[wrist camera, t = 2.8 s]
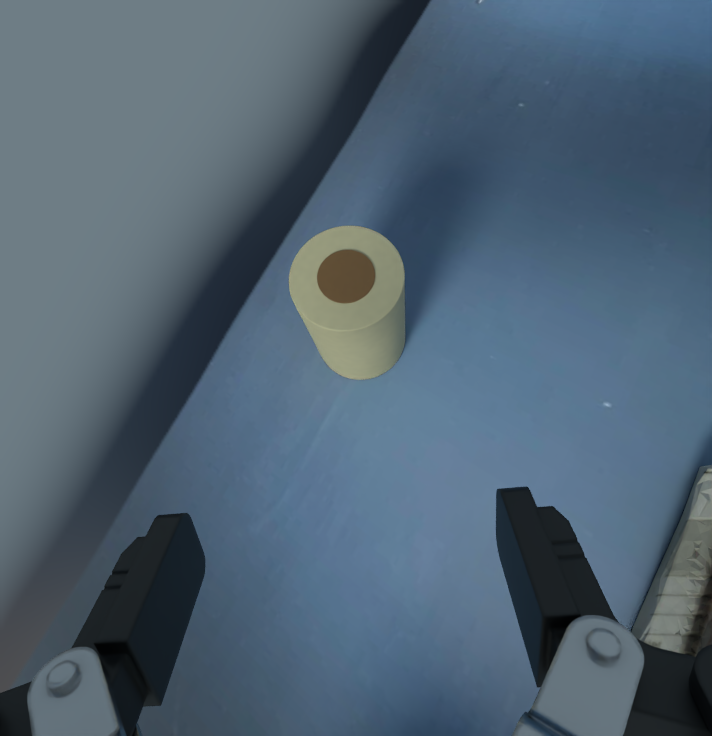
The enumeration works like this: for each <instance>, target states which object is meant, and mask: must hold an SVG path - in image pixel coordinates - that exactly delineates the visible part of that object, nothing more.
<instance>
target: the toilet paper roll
mask: <svg viewBox="0 0 712 736" xmlns="http://www.w3.org/2000/svg"><path fill="white" fill-rule="evenodd" d="M289 289H290V294H291V297H292V300H293V302H294V304H295V306H296V308H297V310H298V312H299V314H300V316H301V318H302V320H303V321H304V323H305V325H306V327H307V329H308V331H309V333H310V335H311V337H312V339H313V341H314V343H315V345H316V346H317V348H318V350H319V352H320V354H321V356H322V358H323V360H324V361H325V363H326V364H327V365H328V366H329V367H330V368H331V369H332V370H333V371H334V372H336V373H338V374H339V375H341V376H344V377H346V378H350V379H356V380H364V379H371V378H374V377H377V376H379V375H382V374H383V373H385V372H387V371H388V370H389V369H391V368H392V367H393V366H394V365H395V363H396V362H397V361H398V359H399V358H400V356H401V354H402V352H403V349H404V345H405V271H404V265H403V262H402V259H401V257H400V254H399V252H398V251H397V249H396V248H395V246H394V245H393V244H392V243H391V242H390V241H389V240H388V239H387V238H385V237H384V236H383V235H381V234H379V233H378V232H376V231H373V230H371V229H368V228H365V227H360V226H340V227H335V228H331V229H328V230H326V231H323V232H321V233H319V234H317V235H316V236H314V237H313V238H311V239H310V240H309V241H308V242H307V243H306V244H305V245H304V246H303V247H302V248H301V249H300V250H299V252H298V253H297V255H296V257H295V259H294V261H293V263H292V266H291V269H290V274H289Z"/></svg>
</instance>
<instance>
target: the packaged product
mask: <svg viewBox="0 0 712 736" xmlns="http://www.w3.org/2000/svg"><path fill="white" fill-rule="evenodd" d="M631 633H632V634H633V635H634V636H635V637H636V638H637V639H639V640H641V641H643V642H644V643H647V644H649V645H651V646H654V647H657V648H661V649H665V650H669V651H673V652H677V653H682V654H686V655H690V656H694V657H696V655H697V654H698V652H699V651H700V650H701V649H702V648H704V647H706V646H708V645H712V465H708V466H702V467H700V468H699V471H698V474H697V476H696V479H695V482H694V485H693V487H692V490H691V493H690V496H689V498H688V501H687V504H686V507H685V509H684V512H683V515H682V517H681V520H680V522H679V524H678V526H677V529H676V531H675V533H674V535H673V537H672V540H671V542H670V544H669V546H668V549H667V551H666V553H665V555H664V558H663V560H662V562H661V564H660V567H659V569H658V571H657V573H656V576H655V578H654V580H653V583H652V585H651V587H650V589H649V592H648V594H647V596H646V599H645V601H644V603H643V605H642V608H641V610H640V612H639V615H638V617H637V619H636V621H635V624H634V626H633V628H632V631H631Z"/></svg>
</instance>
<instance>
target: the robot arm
mask: <svg viewBox="0 0 712 736" xmlns="http://www.w3.org/2000/svg"><path fill="white" fill-rule="evenodd" d="M496 540H497V547H498V552H499V557H500V561H501V564H502V567H503V571H504V574H505V578H506V581H507V585H508V588H509V592H510V595H511V599H512V602H513V605H514V609H515V612H516V616H517V619H518V623H519V626H520V630H521V633H522V637H523V640H524V643H525V647H526V650H527V654H528V657H529V661H530V664H531V668H532V671H533V675H534V678H535V682H536V685H537V687H541V688H540V690H539V692H538V695H537V697H536V699H535V701H534V704H533V706H532V708H531V709H530V711H529V712H528V713H527V712H525V713H524V714H523V715H522V716H521V718H520V720H519V721H518V723H517V725H516V728H515V730H514V732H513V734H512V736H712V645H708V646H706V647H704V648H702V649H701V650H700V651H699V652H698V654H697V655H696V657H694V656H690V655H686V654H682V653H677V652H673V651H669V650H665V649H661V648H657V647H654V646H651V645H649V644H647V643H644V642H643V641H641V640H639V639H637V638H636V637H635V636H634V635H633V634H632V633H631V632H630V631H629V630H628V629H627V628H626V627H624V626H623V625H621V624H620V623H619V622H618V621H617V619H616V618H615V616H614V615H613V613H612V611H611V609H610V607H609V605H608V603H607V601H606V598H605V596H604V594H603V592H602V590H601V588H600V586H599V584H598V582H597V579H596V577H595V575H594V573H593V571H592V569H591V567H590V565H589V563H588V561H587V558H585V556H584V552H583V550H582V548H581V546H580V544H579V543H578V541H577V537H576V535H575V533H574V531H573V529H572V527H571V525H570V523H569V521H568V520H567V519H566V518H565V517H564V516H563V515H562V514H561V513H560V512H558V511H557V510H556V509H555V508H554V507H553V506H548V507H537V506H536V504H535V501H534V499H533V497H532V494H531V492H530V490H529V488H528V487H515V488H503V489H497V493H496ZM204 574H205V556H204V552H203V549H202V546H201V544H200V541H199V538H198V535H197V533H196V530H195V527H194V525H193V522H192V519H191V517H190V515H189V514H188V513H180V514H167V515H158V516H157V517H156V518H155V519H154V521H153V523H152V525H151V527H150V529H149V531H148V533H147V535H146V537H137V538H136V539H135V540H134V542H133V543H132V544H131V545H130V546H129V547H128V548H127V549H126V550H125V551H124V552H123V553H122V554H121V556H120V558H119V560H118V562H117V563H116V565H115V567H114V569H113V571H112V575H110V577H109V579H108V580H107V582H106V584H105V586H104V587H105V589H104V590H102V592H101V594H100V596H99V597H98V599H97V601H96V603H95V605H94V607H93V609H92V611H91V613H90V614H89V616H88V618H87V620H86V622H85V624H84V626H83V628H82V630H81V631H80V633H79V635H78V637H77V639H76V641H75V643H74V645H73V646H72V648H71V649H69V650H66V651H64V652H62V653H60V654H58V655H57V656H55V657H54V658H52V659H51V660H50V661H49V662H47V663H46V664H45V665H44V666H43V667H42V668H41V669H40V671H39V672H38V673H37V674H36V676H35V677H34V679H33V681H32V682H29V683H27V684H24V685H21V686H19V687H16V688H13V689H10V690H8V691H5V692H2V693H0V736H142V733H141V730H140V727H139V725H138V723H137V721H138V719H139V716H140V713H141V710H142V708H143V706H161V704H162V701H163V698H164V695H165V692H166V689H167V686H168V683H169V680H170V677H171V674H172V671H173V668H174V665H175V662H176V659H177V656H178V653H179V650H180V647H181V644H182V641H183V638H184V635H185V632H186V629H187V626H188V623H189V620H190V617H191V614H192V611H193V608H194V605H195V602H196V599H197V596H198V593H199V590H200V587H201V584H202V581H203V578H204Z"/></svg>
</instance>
